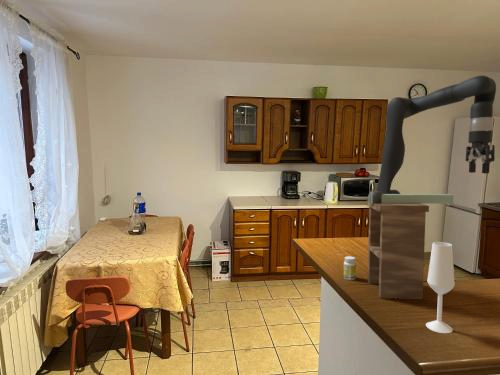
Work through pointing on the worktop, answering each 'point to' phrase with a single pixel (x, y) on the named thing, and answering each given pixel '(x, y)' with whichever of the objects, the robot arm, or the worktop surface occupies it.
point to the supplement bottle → (349, 268)
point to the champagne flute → (441, 280)
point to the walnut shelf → (397, 249)
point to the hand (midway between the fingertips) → (478, 173)
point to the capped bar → (409, 198)
